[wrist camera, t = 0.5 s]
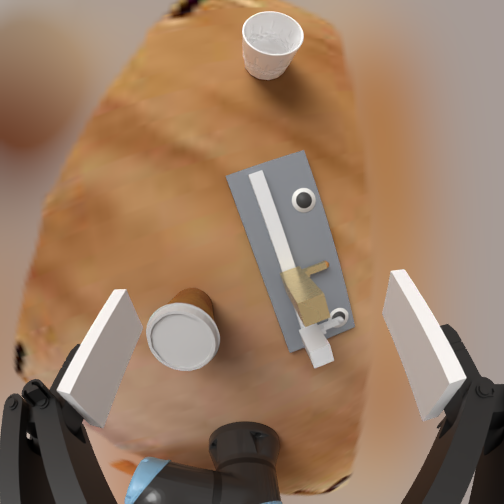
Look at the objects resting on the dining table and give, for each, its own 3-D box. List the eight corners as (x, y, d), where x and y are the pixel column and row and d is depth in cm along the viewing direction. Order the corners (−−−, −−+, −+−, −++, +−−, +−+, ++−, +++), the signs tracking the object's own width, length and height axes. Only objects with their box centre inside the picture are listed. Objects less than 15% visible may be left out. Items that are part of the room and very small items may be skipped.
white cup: (299, 71, 38) (315, 42, 28) (258, 91, 39) (265, 64, 29) (271, 37, 37) (280, 4, 27) (230, 56, 37) (230, 24, 27)
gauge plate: (351, 323, 47) (376, 350, 37) (288, 348, 47) (300, 382, 37) (301, 151, 41) (320, 139, 31) (225, 176, 41) (223, 170, 31)
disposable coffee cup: (161, 278, 43) (138, 306, 32) (221, 277, 44) (217, 307, 32) (167, 332, 45) (150, 372, 33) (223, 332, 46) (221, 374, 34)
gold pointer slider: (330, 271, 43) (366, 301, 30) (284, 289, 43) (305, 327, 30) (324, 253, 42) (361, 277, 29) (278, 270, 42) (297, 303, 29)
